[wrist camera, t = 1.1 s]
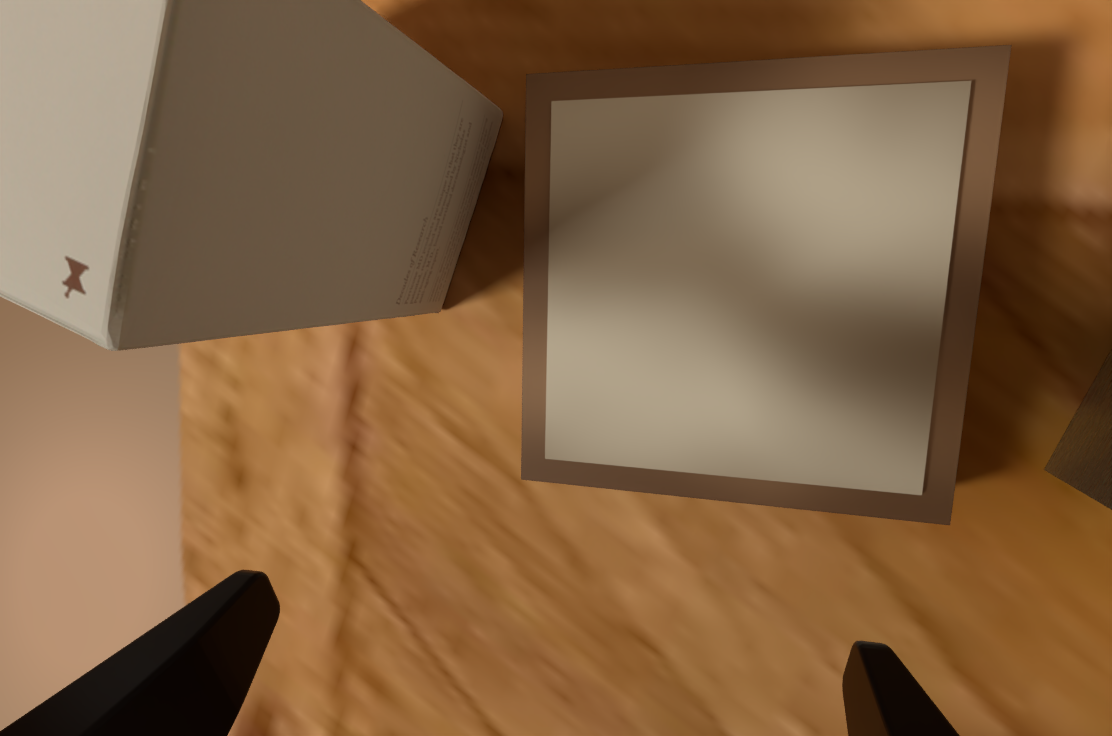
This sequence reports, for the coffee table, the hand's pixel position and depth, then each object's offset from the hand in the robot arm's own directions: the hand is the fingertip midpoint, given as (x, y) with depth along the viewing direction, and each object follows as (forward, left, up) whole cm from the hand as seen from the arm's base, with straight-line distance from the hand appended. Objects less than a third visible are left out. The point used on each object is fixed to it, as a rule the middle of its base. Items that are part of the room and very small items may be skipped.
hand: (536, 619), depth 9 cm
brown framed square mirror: (+5, -3, -12) cm, 13 cm away
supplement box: (+8, +9, -12) cm, 17 cm away
